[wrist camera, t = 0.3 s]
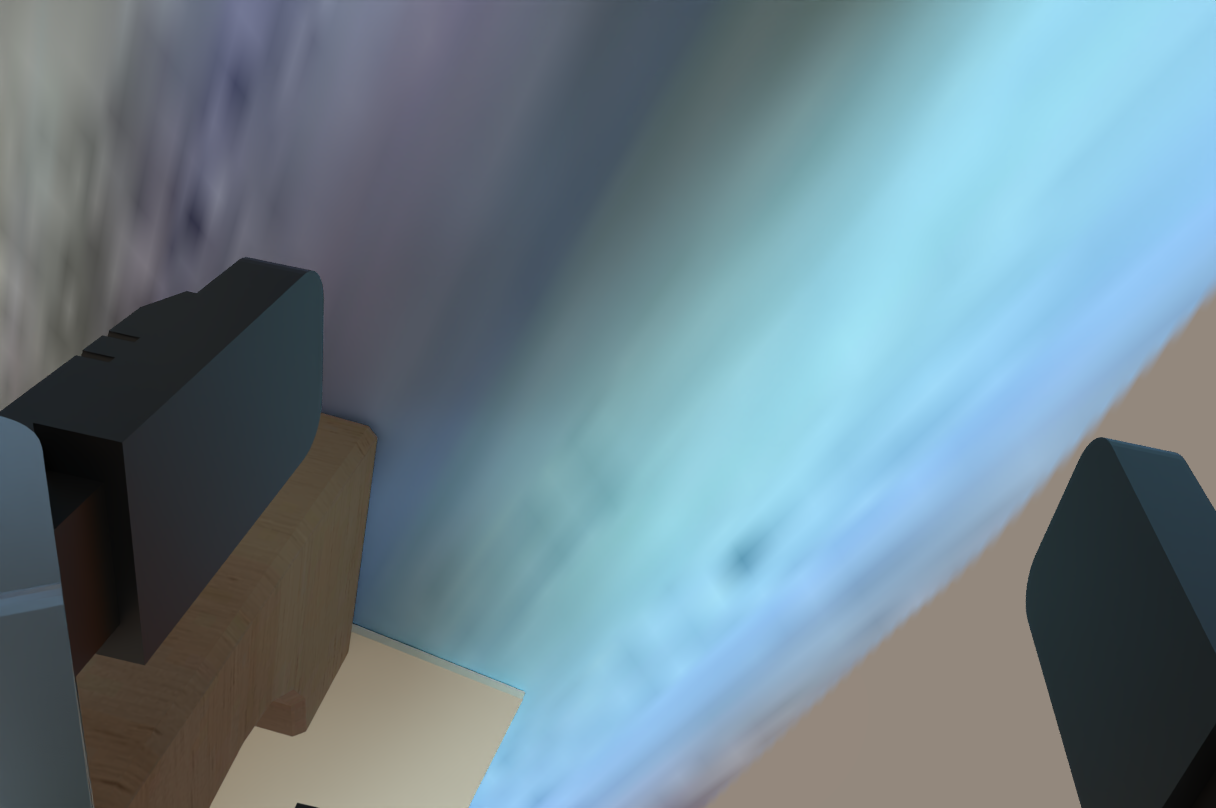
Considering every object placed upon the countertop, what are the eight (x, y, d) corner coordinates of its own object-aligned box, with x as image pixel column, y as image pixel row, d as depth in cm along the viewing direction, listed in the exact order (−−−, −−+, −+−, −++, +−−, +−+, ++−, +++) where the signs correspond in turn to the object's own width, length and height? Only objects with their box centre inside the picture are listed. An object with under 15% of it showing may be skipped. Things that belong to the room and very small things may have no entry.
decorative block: (350, 654, 41) (35, 1248, 24) (213, 613, 42) (-199, 1176, 24) (388, 425, 36) (13, 985, 19) (230, 378, 36) (-291, 892, 19)
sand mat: (-28, 472, 40) (-35, 478, 40) (525, 691, 42) (522, 699, 41) (-41, 837, 54) (-46, 844, 54) (373, 992, 56) (370, 1000, 55)
